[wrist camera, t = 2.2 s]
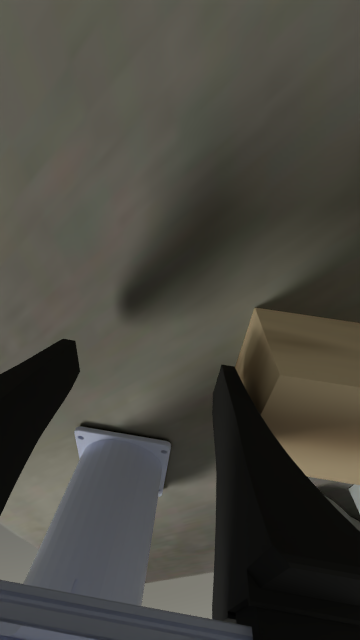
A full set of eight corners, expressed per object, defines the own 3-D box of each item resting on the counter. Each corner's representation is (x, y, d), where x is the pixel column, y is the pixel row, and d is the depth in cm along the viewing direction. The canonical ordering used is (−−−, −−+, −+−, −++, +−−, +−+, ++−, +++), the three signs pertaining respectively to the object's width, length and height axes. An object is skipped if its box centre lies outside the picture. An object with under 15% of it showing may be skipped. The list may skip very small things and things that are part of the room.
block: (319, 399, 15) (363, 486, 11) (228, 385, 15) (236, 464, 11) (369, 323, 12) (459, 403, 8) (254, 306, 12) (279, 374, 8)
